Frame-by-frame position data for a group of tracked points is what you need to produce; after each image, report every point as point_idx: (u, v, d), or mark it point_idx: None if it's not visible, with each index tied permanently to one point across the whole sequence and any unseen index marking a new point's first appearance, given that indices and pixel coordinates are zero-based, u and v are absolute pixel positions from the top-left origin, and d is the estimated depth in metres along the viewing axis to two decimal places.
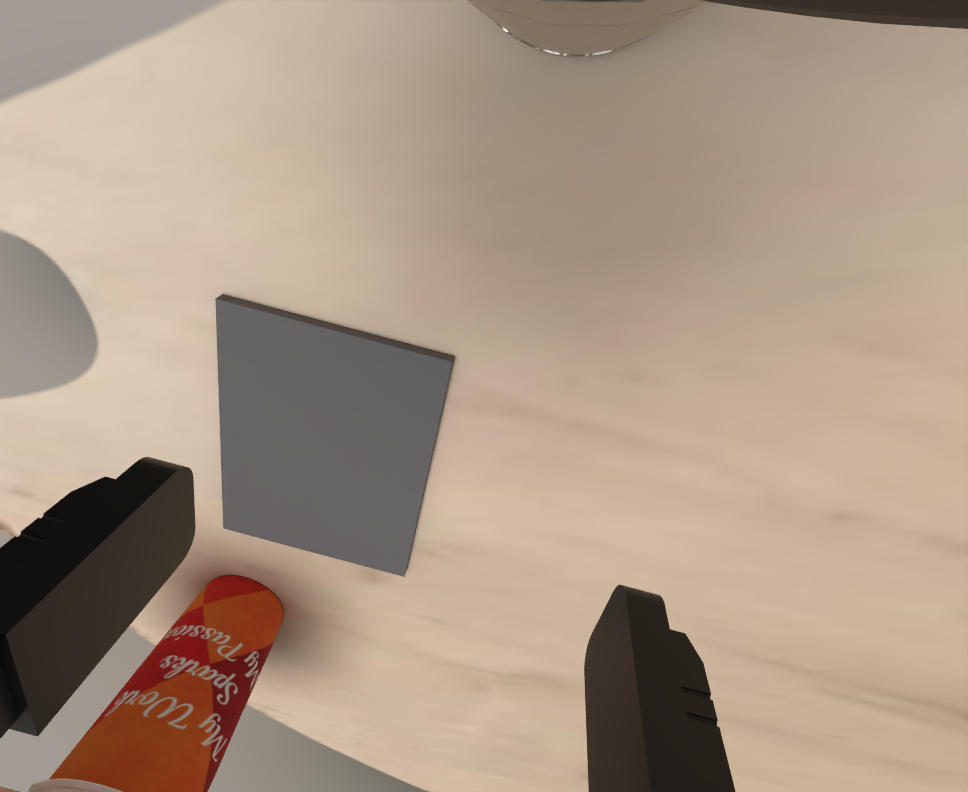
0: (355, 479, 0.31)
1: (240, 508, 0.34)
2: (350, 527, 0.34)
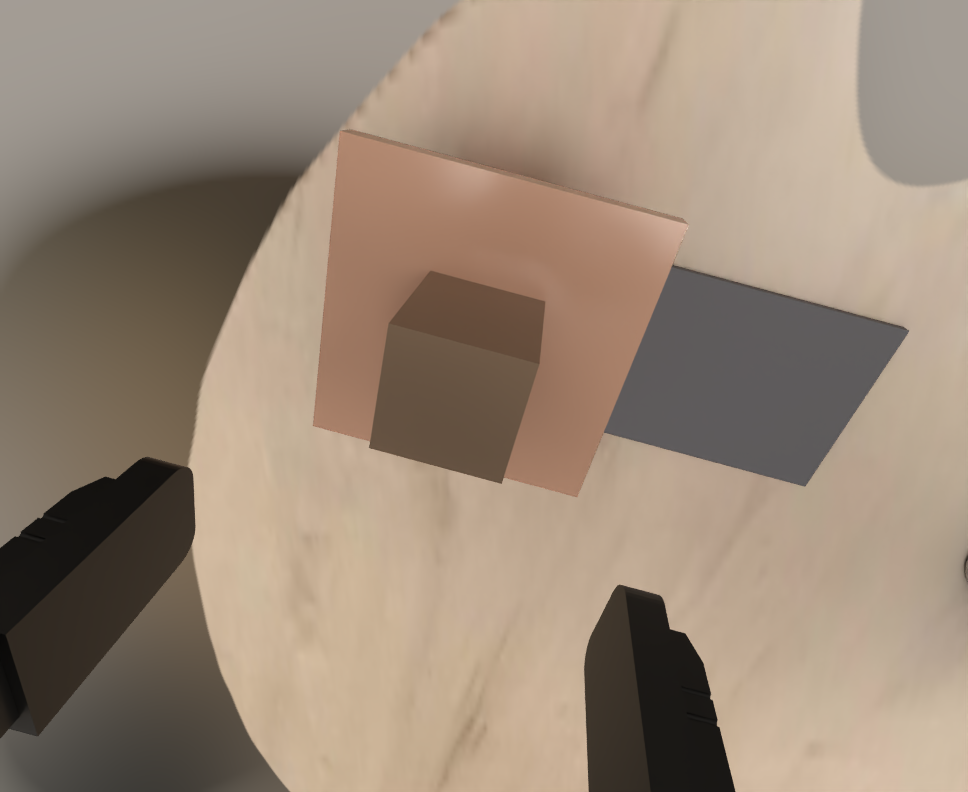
0: (704, 405, 0.36)
1: (674, 287, 0.33)
2: (646, 390, 0.36)
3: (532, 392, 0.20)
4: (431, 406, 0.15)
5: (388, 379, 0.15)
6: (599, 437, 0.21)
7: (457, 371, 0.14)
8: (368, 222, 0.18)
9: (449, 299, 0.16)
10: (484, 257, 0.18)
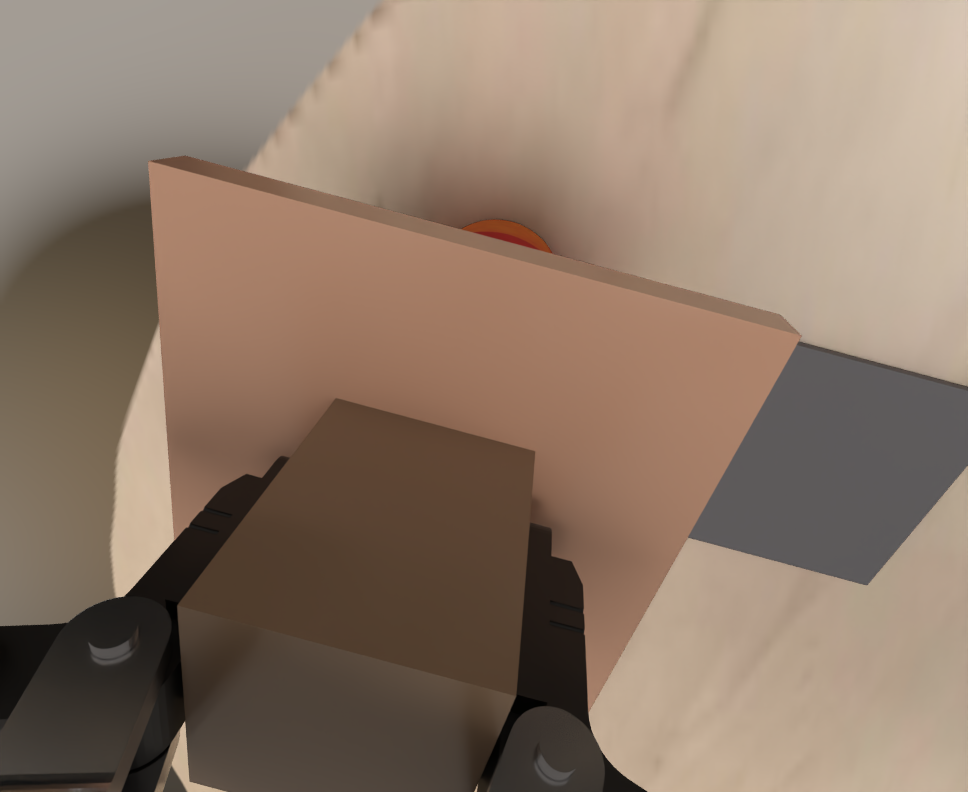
0: (742, 489, 0.28)
1: None
2: None
3: None
4: (296, 738, 0.07)
5: (200, 692, 0.07)
6: (624, 643, 0.13)
7: (339, 693, 0.07)
8: (221, 319, 0.10)
9: (350, 481, 0.09)
10: (426, 379, 0.10)
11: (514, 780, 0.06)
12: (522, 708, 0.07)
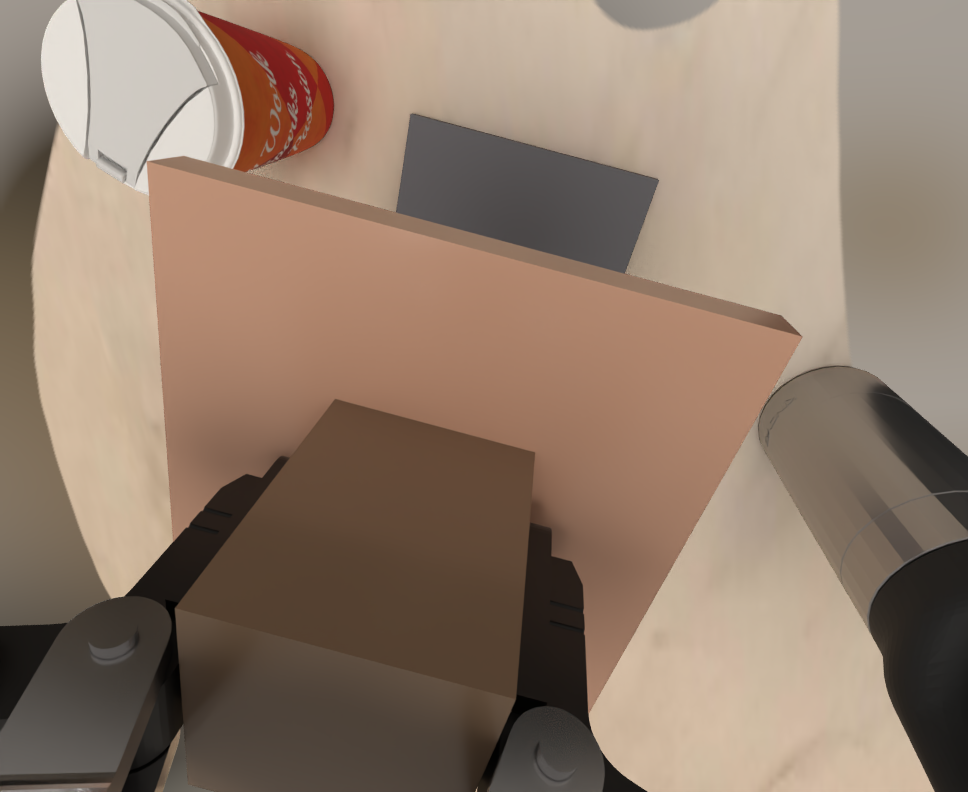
0: None
1: (440, 141, 0.35)
2: None
3: None
4: (295, 741, 0.07)
5: (198, 695, 0.07)
6: (624, 644, 0.13)
7: (337, 696, 0.07)
8: (220, 320, 0.10)
9: (349, 483, 0.09)
10: (426, 380, 0.10)
11: (514, 780, 0.06)
12: (522, 708, 0.07)
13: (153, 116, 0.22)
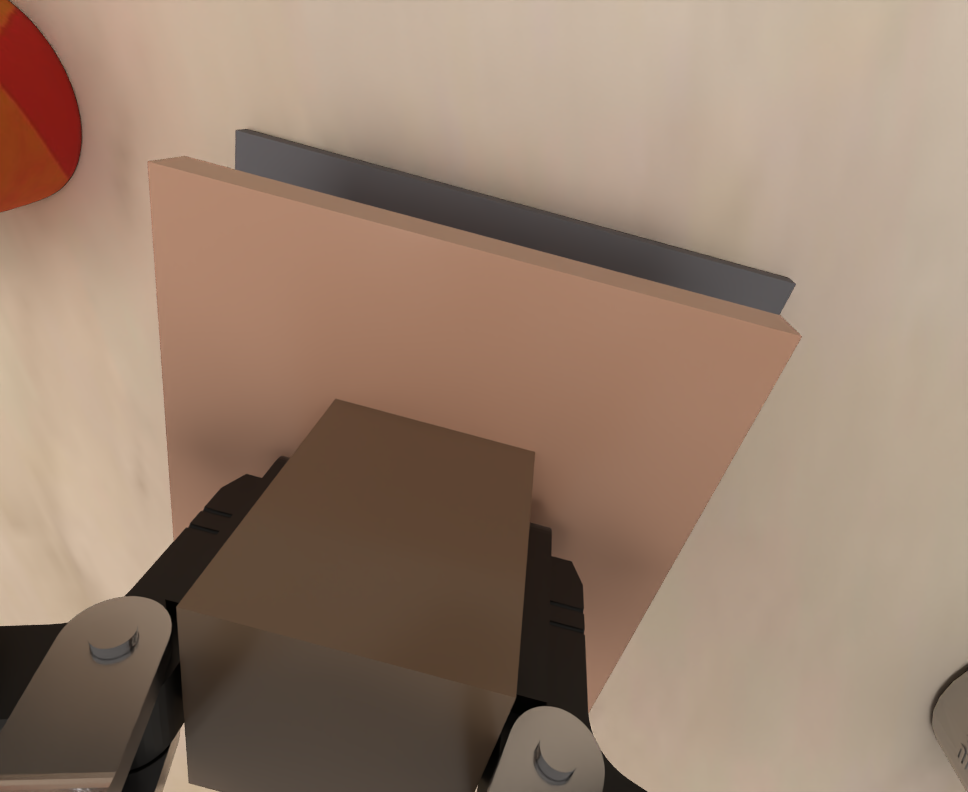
0: None
1: None
2: None
3: None
4: (296, 740, 0.07)
5: (199, 694, 0.07)
6: (624, 643, 0.13)
7: (338, 695, 0.07)
8: (220, 319, 0.10)
9: (350, 482, 0.09)
10: (426, 379, 0.10)
11: (514, 780, 0.06)
12: (522, 708, 0.07)
13: None
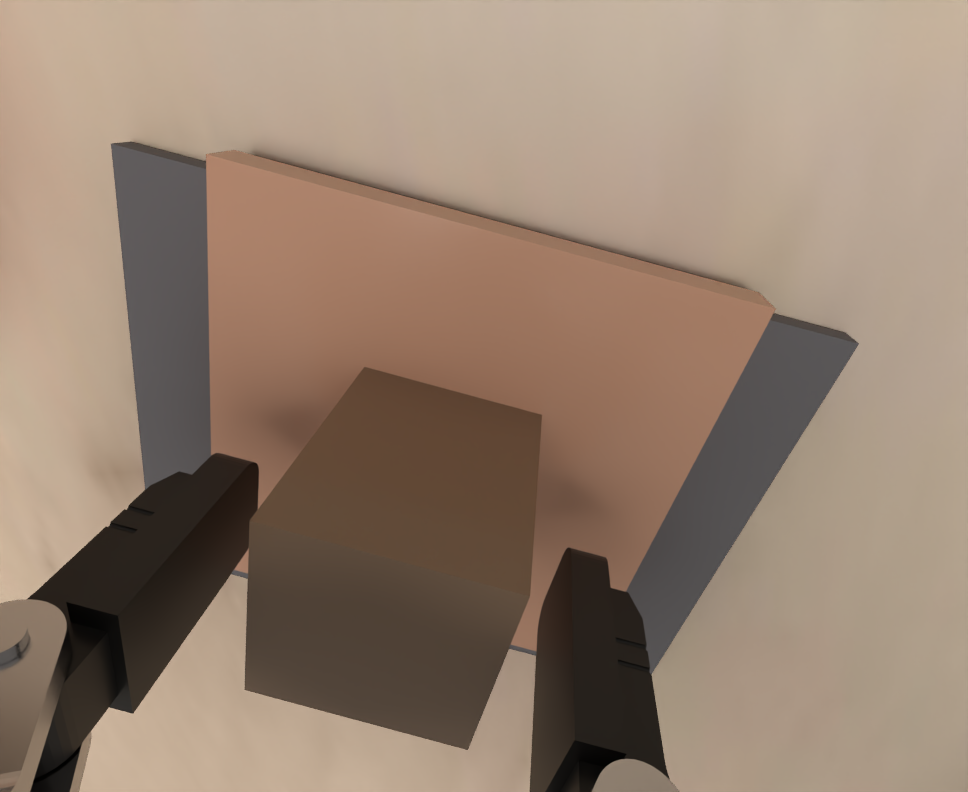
0: None
1: None
2: None
3: None
4: (341, 643, 0.09)
5: (262, 601, 0.08)
6: None
7: (381, 599, 0.08)
8: (264, 295, 0.11)
9: (383, 433, 0.10)
10: (446, 349, 0.11)
11: None
12: (598, 759, 0.07)
13: None
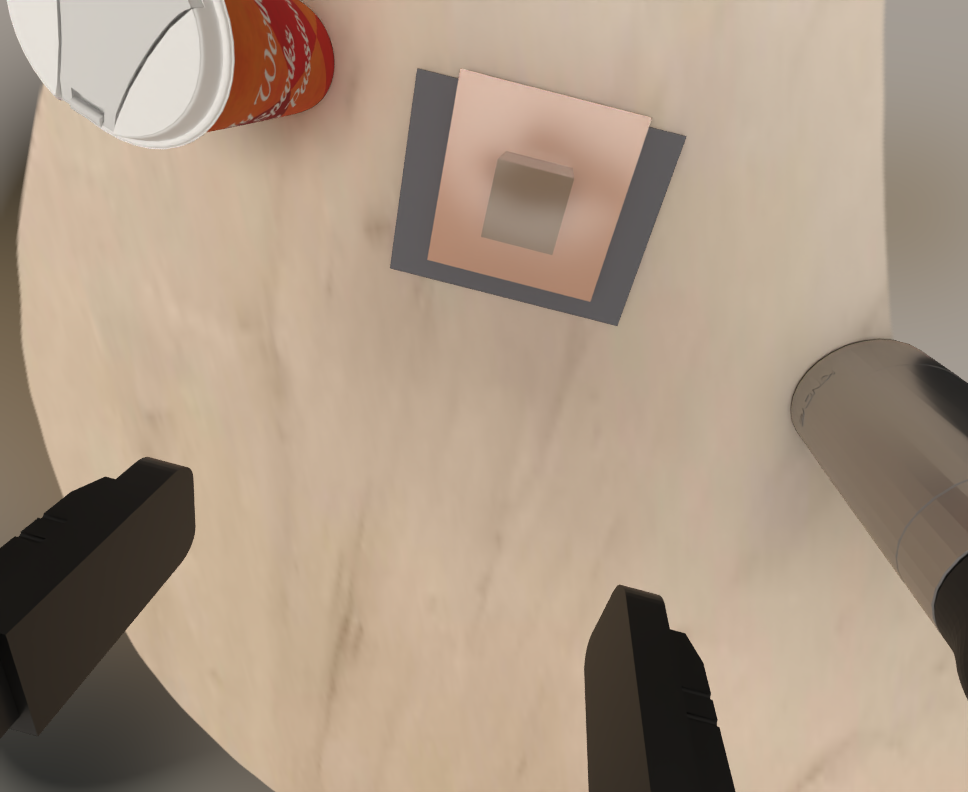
0: None
1: (449, 98, 0.32)
2: None
3: (564, 228, 0.34)
4: (516, 207, 0.29)
5: (495, 192, 0.29)
6: (603, 257, 0.34)
7: (531, 185, 0.28)
8: (472, 122, 0.32)
9: (521, 159, 0.30)
10: (537, 141, 0.32)
11: None
12: None
13: (131, 46, 0.20)
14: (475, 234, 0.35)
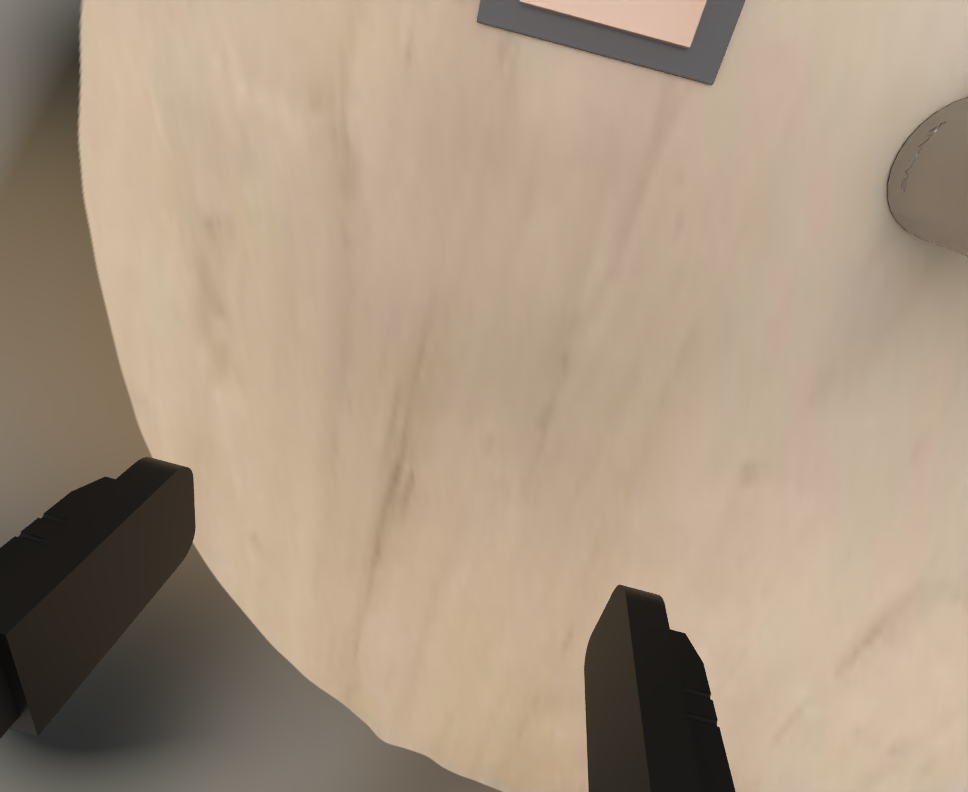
0: None
1: None
2: None
3: None
4: None
5: None
6: None
7: None
8: None
9: None
10: None
11: None
12: None
13: None
14: None
